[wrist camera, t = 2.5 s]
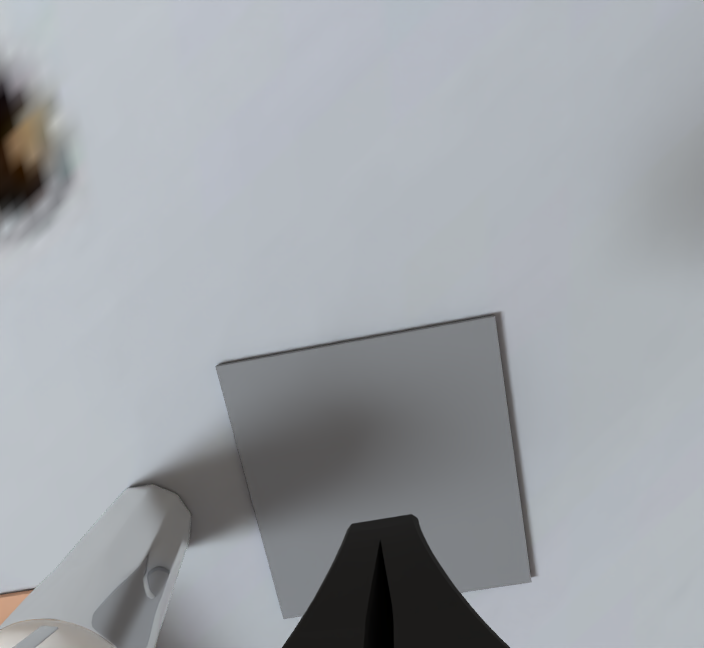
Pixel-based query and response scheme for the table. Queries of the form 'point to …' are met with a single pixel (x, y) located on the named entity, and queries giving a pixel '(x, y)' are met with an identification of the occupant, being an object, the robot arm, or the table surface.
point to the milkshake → (109, 579)
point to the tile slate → (381, 452)
